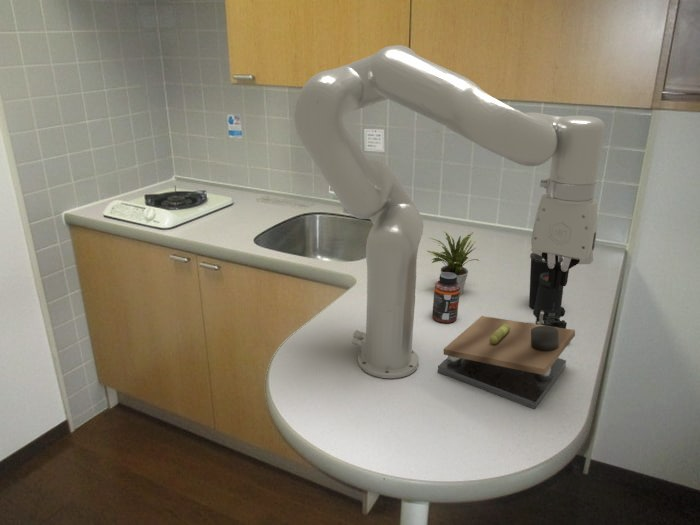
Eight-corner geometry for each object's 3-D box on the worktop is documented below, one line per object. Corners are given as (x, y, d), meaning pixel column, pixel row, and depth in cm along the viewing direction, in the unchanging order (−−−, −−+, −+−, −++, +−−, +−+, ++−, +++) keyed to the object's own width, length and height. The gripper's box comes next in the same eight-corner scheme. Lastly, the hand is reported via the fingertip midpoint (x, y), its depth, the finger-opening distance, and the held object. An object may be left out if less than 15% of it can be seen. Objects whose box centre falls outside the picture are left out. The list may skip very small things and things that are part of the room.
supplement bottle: (451, 326, 134) (455, 282, 130) (428, 320, 137) (431, 276, 133) (460, 316, 139) (464, 273, 135) (437, 310, 142) (441, 268, 138)
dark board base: (437, 372, 116) (439, 354, 115) (475, 337, 130) (477, 320, 128) (534, 409, 105) (537, 389, 104) (565, 366, 119) (568, 349, 117)
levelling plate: (443, 354, 114) (442, 335, 113) (481, 320, 127) (481, 303, 126) (544, 375, 102) (544, 353, 101) (574, 335, 115) (574, 316, 114)
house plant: (441, 275, 162) (445, 219, 156) (487, 287, 155) (494, 230, 149) (416, 292, 152) (420, 233, 145) (465, 306, 144) (471, 245, 138)
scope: (544, 288, 121) (527, 270, 130) (535, 346, 126) (520, 324, 136) (581, 288, 122) (563, 270, 131) (571, 345, 127) (554, 324, 136)
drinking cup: (532, 297, 149) (543, 224, 142) (560, 307, 144) (573, 232, 137) (517, 306, 144) (527, 231, 137) (545, 317, 139) (557, 239, 132)
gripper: (520, 188, 100) (509, 284, 107) (611, 202, 92) (593, 305, 98) (535, 180, 105) (524, 272, 112) (622, 192, 97) (604, 290, 104)
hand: (556, 287), depth 105 cm, fingers closed
